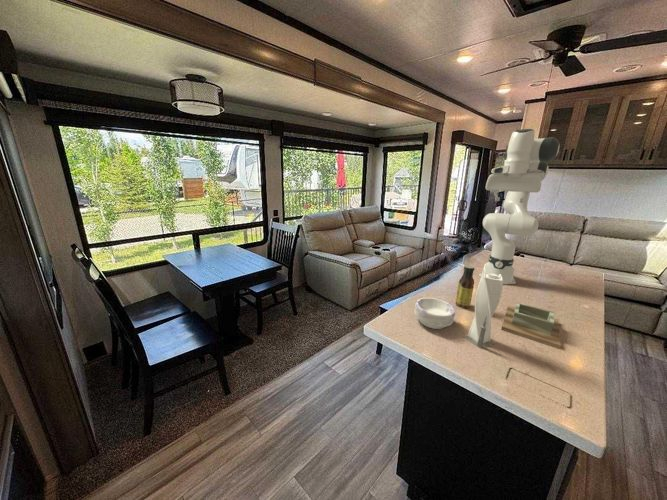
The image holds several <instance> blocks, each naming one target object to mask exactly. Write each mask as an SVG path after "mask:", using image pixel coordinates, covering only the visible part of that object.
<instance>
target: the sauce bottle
mask: <svg viewBox="0 0 667 500" xmlns="http://www.w3.org/2000/svg"><path fill="white" fill-rule="evenodd" d="M474 271H475V266H473V265H470V264H467V265H464V267H463V274H462V276H461V278H459V281H458V285H457V291H456V297H455V304H456V306H458V307H459V308H463V309H468V308H469V307H470V306H471V303H472V302H471V301H472V297H473V293H474V284H475V279H474V278H473V275H474Z"/></svg>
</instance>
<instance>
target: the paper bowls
mask: <svg viewBox="0 0 667 500" xmlns="http://www.w3.org/2000/svg"><path fill="white" fill-rule="evenodd" d="M414 315H415V317H416V318H417V320H419V322H420V323H421V324H422V325H424V326H426V327H427V328H430V329H434V330H435V329H436V330H437V329H438V330H441V329H444V328H445V327H449V326H451V325H452V324H453V323H454V320H455V315H456V309H455V307H454V306H453V305H452V304H450V303H449V302H447V301H445V300H443V299H440V298H435V297H421V298H418V299H417V300H416V301H415V306H414Z"/></svg>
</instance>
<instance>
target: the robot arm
mask: <svg viewBox="0 0 667 500" xmlns="http://www.w3.org/2000/svg"><path fill="white" fill-rule="evenodd" d="M559 150H560V141H559V140H558V139H557V138H556V137H554V136H550V137H543V138H542V137H541V138H535V130H534V129H532V128H523V129H516V130H513V131H512V133H511V136H510V139H509V142H508V144H507V145H506V146H505V151H504V153H505V154H504V157H505V158H506V160H505V161H504V164H503V165H501V166H499V167H495V168H492V169H491V174H490V175H489V176H488V178H487V180H486V183H485V190H486V191H491V192H493V195H494V201H495V202H499V201H500V199H501V198H500V196H498V193H499V192H506V196H505V198H504V201H503V205H502V208H503V210H504V211H505V212H506V213H502V212H493V213H491V212H490V213H487V214H486V215H485V216H484V217H483V219H482V227H483V229H485V231H486V232H487V233H488V234H489V236H490V238H491V242H492V245H491V252H490V255H489V257H488V262H486V263H484V267H485V268H486V274H488V273H494V274H496V275H498V276H499V274H501V276H502V278H503V285H516V284H517V282H516V279H515V277H514V275H515V269H514V267H513V264H514V256H515V252H516V247H517V246H516V244H515V243H514V242H513V241H512V240H510V239H508V238H507V237H506V235H514V236H521V237H523V236H524V237H527V236H528V237H529V236H532V235H534V234H536V233H537V231H538V229H539V222H538V219H537V218H536V217H534V216H532V215H531V213H529V211H528V203H529V199H530V194H531V193H539V192H540V191H541V188H542V182H543V180H544V179H545V178H546V176H547V175H548V173H549V162H551V161H553V160H555V158H556V157H557V155H558V154H559V152H560V151H559ZM482 273H483V271H482V272H480V273H479V274H478V276H479V277H480V278H481V276H482ZM484 273H485V271H484ZM500 278H501V277H500Z"/></svg>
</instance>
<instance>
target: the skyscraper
mask: <svg viewBox="0 0 667 500" xmlns="http://www.w3.org/2000/svg"><path fill="white" fill-rule="evenodd" d="M484 271H485V273H484ZM482 272H483V273H482ZM482 272H481V273H482V276H481V277H480V278H479V279H480V280H479V283H478V286H477V289H476V294H475V299H474V317H473V319H472V322H471V325H470V329H469V330H468V334H467V335H466V336H464V339H466V340H467V341H468V342H470V343H472V344H473V345H474V346H475V347H477V348H479V349H483V348H487V347H490V346H492V345H494V342H492V341H491V333H492V332H491V331H492V317H493V316H494V314H495V312H496V311H497V308H498V306H499V304H500V300H501V297H502V292H503V285H504V284H503V278H502V276H501V274H499V276H498V275H496V274H494V273H488V274H486V268H485V267H482ZM500 277H501V278H500Z"/></svg>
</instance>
